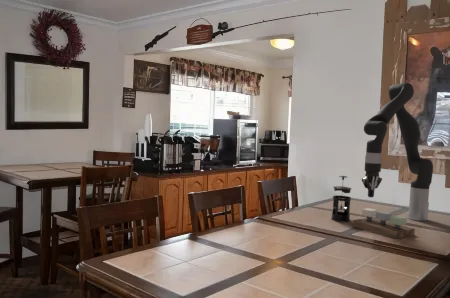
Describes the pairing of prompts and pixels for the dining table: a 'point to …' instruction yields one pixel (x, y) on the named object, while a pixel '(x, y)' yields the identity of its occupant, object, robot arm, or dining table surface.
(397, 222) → the sage key
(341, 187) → the french press
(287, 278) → the dining table surface
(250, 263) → the dining table surface
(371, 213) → the cream block
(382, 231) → the key panel
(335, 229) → the dining table surface
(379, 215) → the grey squarish block
